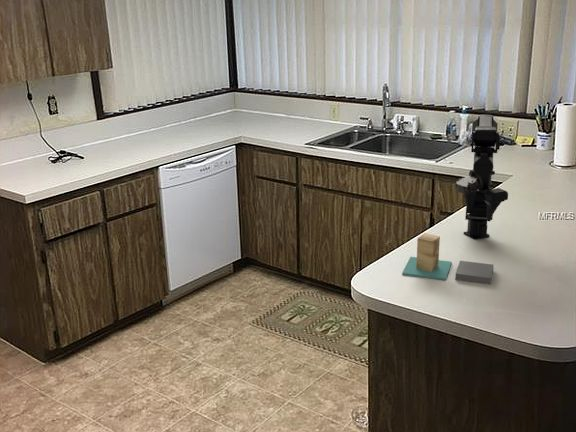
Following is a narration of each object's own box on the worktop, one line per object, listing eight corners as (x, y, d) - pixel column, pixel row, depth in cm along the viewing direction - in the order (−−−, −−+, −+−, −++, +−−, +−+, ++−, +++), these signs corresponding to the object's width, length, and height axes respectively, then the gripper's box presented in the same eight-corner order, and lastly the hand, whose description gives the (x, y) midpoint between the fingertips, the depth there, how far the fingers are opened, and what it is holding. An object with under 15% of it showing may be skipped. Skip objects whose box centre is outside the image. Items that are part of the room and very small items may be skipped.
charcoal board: (459, 266, 198) (459, 260, 197) (493, 270, 194) (493, 264, 193) (455, 279, 189) (455, 273, 188) (490, 284, 185) (490, 278, 185)
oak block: (423, 262, 200) (424, 233, 196) (438, 266, 197) (439, 236, 193) (416, 268, 196) (417, 238, 192) (431, 271, 193) (432, 241, 190)
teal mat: (410, 258, 204) (410, 256, 204) (451, 263, 200) (451, 261, 200) (402, 274, 193) (402, 272, 193) (445, 280, 188) (445, 278, 188)
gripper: (443, 164, 203) (440, 210, 209) (481, 178, 187) (478, 227, 193) (471, 159, 208) (468, 204, 213) (511, 173, 191) (506, 221, 197)
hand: (479, 214), depth 204 cm, fingers open, 9 cm apart
